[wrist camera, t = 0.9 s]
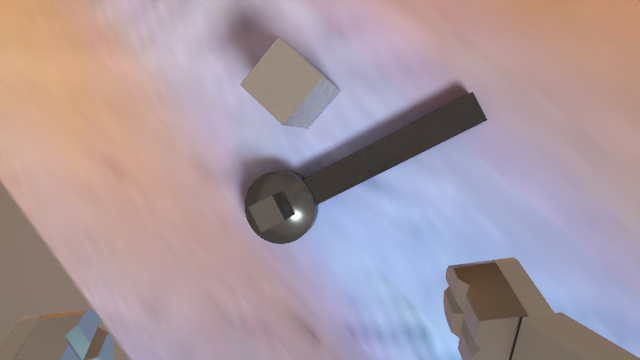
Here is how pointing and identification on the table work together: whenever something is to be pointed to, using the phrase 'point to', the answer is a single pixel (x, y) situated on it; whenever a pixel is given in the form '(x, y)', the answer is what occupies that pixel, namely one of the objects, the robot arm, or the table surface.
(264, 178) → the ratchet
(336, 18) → the table surface
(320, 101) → the tan wooden block
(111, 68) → the table surface
